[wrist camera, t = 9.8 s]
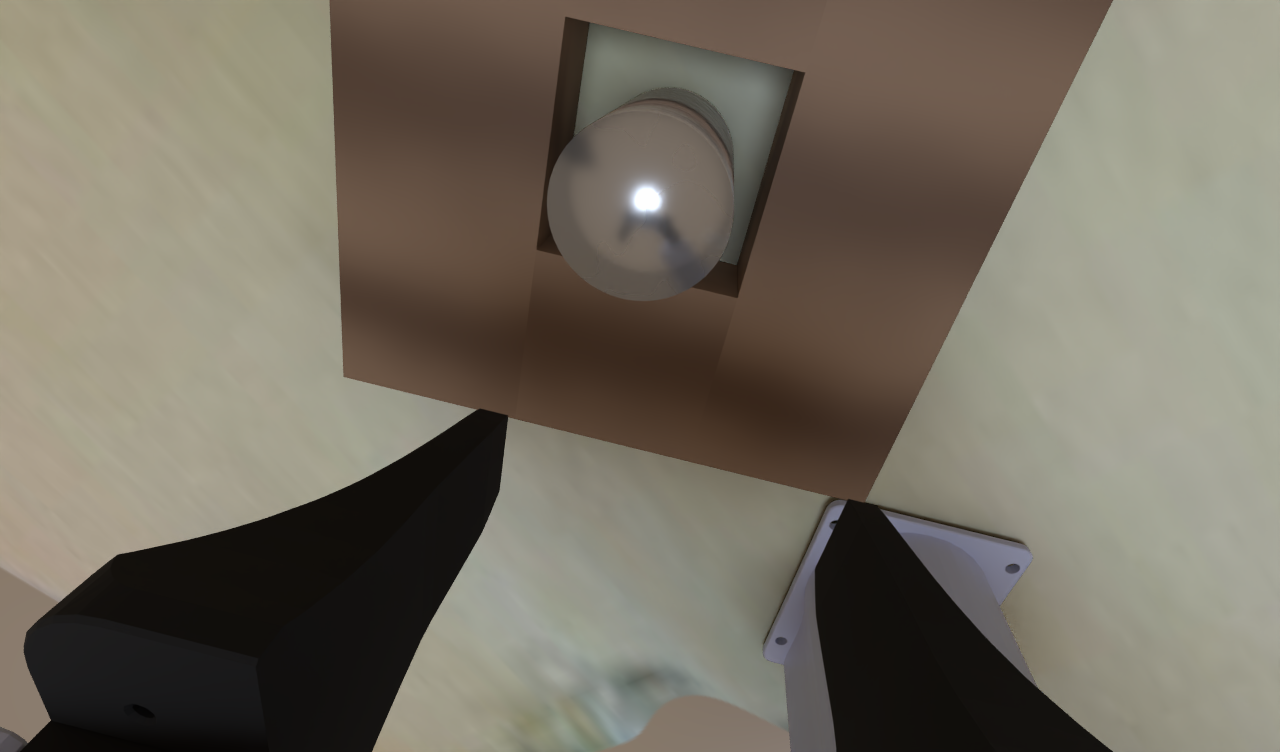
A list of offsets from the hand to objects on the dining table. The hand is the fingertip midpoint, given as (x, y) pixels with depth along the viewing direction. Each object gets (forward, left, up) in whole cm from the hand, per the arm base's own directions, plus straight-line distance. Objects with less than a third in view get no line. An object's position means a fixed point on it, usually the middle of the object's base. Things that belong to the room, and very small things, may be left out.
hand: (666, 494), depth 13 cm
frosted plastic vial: (+5, +2, -10) cm, 11 cm away
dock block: (+5, +2, -10) cm, 11 cm away
